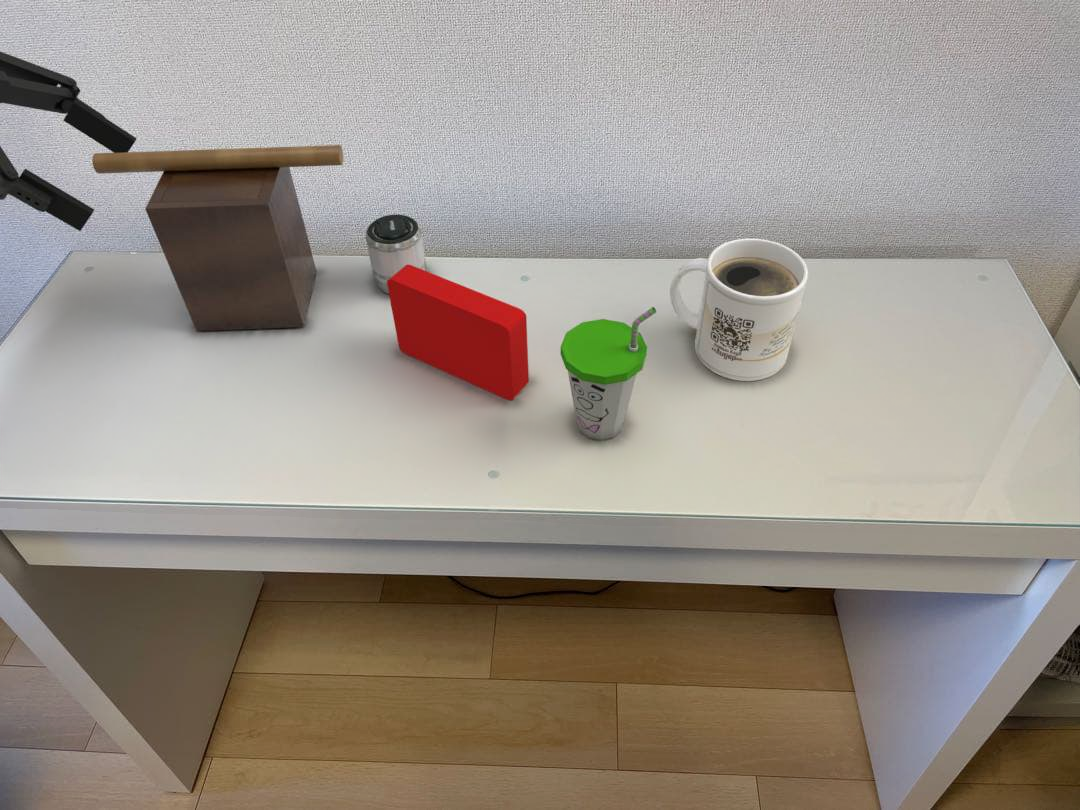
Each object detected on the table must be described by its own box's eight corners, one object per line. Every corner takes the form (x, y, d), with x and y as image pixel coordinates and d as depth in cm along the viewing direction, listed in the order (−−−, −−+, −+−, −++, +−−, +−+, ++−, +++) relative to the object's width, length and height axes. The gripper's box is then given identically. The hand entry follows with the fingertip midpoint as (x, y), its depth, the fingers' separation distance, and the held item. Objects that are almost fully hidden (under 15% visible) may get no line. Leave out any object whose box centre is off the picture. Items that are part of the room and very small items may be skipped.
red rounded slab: (529, 385, 89) (526, 310, 81) (513, 402, 87) (509, 328, 80) (416, 335, 94) (404, 262, 87) (399, 351, 93) (386, 277, 85)
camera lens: (423, 261, 104) (415, 205, 98) (432, 292, 99) (424, 236, 94) (371, 269, 103) (360, 214, 97) (378, 301, 98) (367, 245, 93)
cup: (545, 432, 84) (543, 315, 73) (587, 385, 88) (591, 268, 78) (613, 466, 81) (621, 349, 70) (653, 415, 85) (667, 298, 74)
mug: (720, 395, 87) (736, 311, 79) (661, 325, 95) (670, 242, 87) (805, 364, 90) (829, 281, 82) (742, 299, 98) (757, 217, 90)
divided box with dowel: (137, 333, 95) (161, 276, 102) (362, 324, 95) (371, 269, 102) (69, 193, 82) (102, 139, 89) (330, 184, 82) (343, 131, 89)
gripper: (-71, 15, 87) (130, 145, 98) (-214, 138, 70) (50, 279, 81) (-46, -42, 83) (161, 99, 94) (-190, 73, 66) (83, 230, 77)
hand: (110, 182), depth 87 cm, fingers open, 13 cm apart
